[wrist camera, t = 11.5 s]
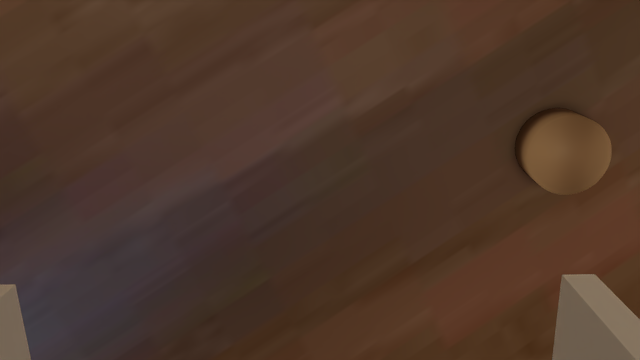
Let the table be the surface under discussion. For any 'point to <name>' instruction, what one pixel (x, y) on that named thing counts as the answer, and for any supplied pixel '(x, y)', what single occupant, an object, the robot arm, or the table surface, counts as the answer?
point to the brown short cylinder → (563, 151)
